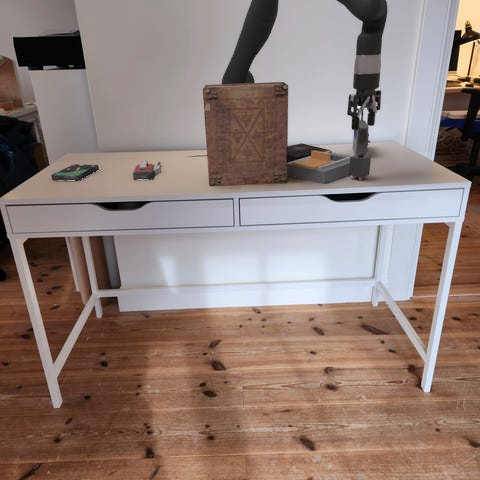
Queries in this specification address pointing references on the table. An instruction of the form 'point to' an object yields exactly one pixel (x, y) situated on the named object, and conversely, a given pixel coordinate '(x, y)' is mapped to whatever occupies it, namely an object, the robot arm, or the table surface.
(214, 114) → the book
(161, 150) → the table surface
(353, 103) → the robot arm
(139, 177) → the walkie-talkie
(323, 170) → the socket block
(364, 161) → the plug
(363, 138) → the electronic device
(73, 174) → the disk drive
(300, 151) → the portable cd player
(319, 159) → the shutter
